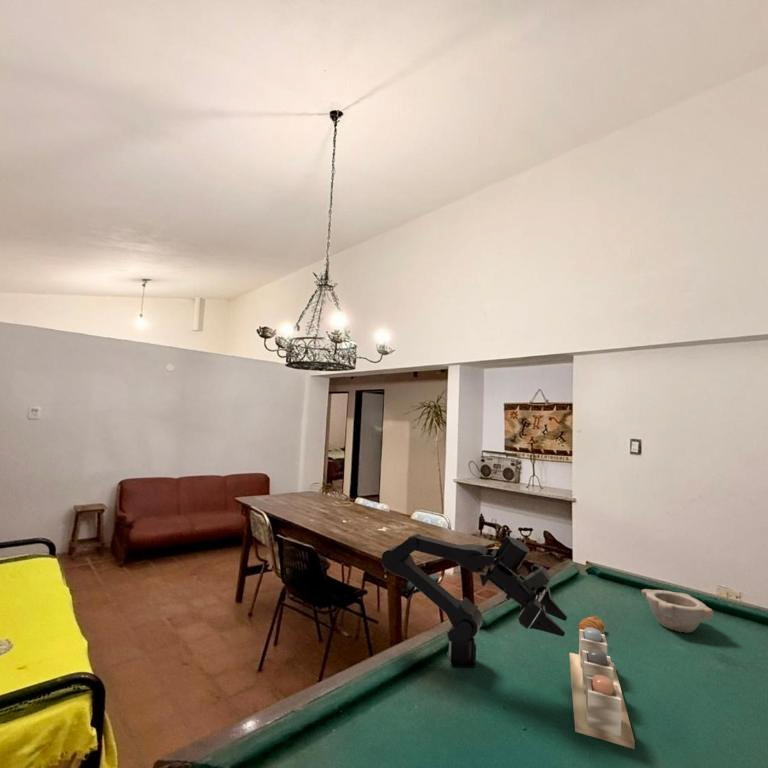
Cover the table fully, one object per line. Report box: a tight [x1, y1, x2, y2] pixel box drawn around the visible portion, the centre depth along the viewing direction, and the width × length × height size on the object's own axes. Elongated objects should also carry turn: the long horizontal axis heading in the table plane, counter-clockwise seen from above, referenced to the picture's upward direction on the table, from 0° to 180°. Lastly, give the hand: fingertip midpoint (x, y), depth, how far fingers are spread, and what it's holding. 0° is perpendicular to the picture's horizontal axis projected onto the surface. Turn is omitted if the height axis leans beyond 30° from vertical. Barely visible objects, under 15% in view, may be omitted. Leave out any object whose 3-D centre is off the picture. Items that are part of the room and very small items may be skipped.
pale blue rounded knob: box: [585, 627, 601, 642], centre depth 114 cm, size 4×4×4 cm
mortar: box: [641, 588, 714, 634], centre depth 142 cm, size 17×17×9 cm
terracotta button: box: [593, 675, 613, 696], centre depth 92 cm, size 4×4×4 cm
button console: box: [569, 629, 636, 750], centre depth 103 cm, size 11×31×8 cm, turn 158°
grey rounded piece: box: [588, 649, 608, 666], centre depth 103 cm, size 4×4×4 cm
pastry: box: [578, 616, 607, 634], centre depth 135 cm, size 9×7×4 cm
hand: (565, 626), depth 104 cm, fingers open, 9 cm apart
